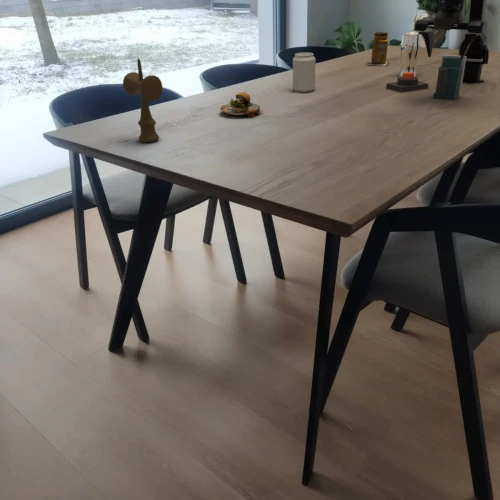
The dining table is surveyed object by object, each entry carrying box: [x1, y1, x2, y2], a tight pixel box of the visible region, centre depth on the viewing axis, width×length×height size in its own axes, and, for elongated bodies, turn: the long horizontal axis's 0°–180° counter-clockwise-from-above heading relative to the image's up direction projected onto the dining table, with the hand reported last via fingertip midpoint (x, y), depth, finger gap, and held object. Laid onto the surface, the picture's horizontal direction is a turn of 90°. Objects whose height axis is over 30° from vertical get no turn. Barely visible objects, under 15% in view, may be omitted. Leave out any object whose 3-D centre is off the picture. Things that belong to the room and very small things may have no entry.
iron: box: [432, 54, 466, 101], centre depth 156 cm, size 12×7×11 cm
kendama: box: [122, 58, 163, 143], centre depth 127 cm, size 6×10×20 cm, turn 43°
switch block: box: [385, 76, 429, 93], centre depth 173 cm, size 11×8×4 cm
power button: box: [402, 72, 414, 79], centre depth 172 cm, size 4×4×2 cm
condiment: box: [368, 31, 389, 66], centre depth 213 cm, size 7×8×12 cm
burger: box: [219, 86, 261, 119], centre depth 151 cm, size 12×12×8 cm
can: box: [292, 52, 316, 93], centre depth 174 cm, size 8×8×12 cm
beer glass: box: [398, 31, 423, 77], centre depth 187 cm, size 7×7×15 cm
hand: (445, 58), depth 150 cm, fingers open, 9 cm apart
